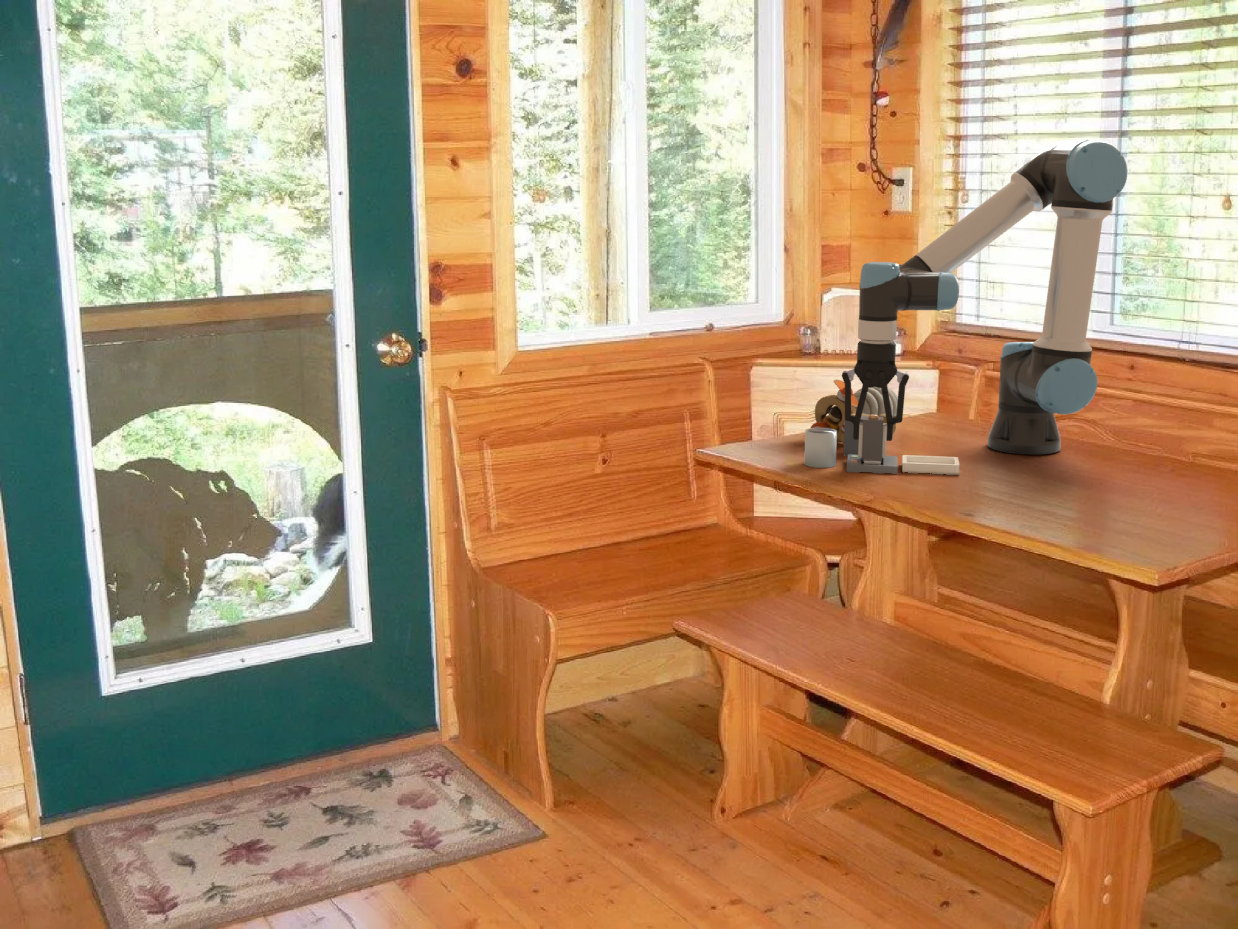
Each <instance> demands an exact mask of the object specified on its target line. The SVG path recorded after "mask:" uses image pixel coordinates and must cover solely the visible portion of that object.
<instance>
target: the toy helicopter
mask: <svg viewBox="0 0 1238 929" xmlns="http://www.w3.org/2000/svg"><path fill="white" fill-rule="evenodd" d="M833 383H834V384H835V385H836V387H837V388H838V391H837V393H836V394H829V395H827V396H823V397H821V398H820V399H819V400H818V401H817V402H816V403H815V407H814V418H815V422H814V423H813V424H812V425H810V428H830V429H834V430H836V431H837V442H841V443H842V444H844V429H845V383H844V381H843V380H841V379H834V380H833ZM853 394H854V392H853V388H851V414H855V413H856V408H855V407H857V405H858V401H857V399H856V398H855V396H854V395H853ZM862 416H869V415H868V414H864V413H862ZM878 417H884V424H887V420H886V414H882V415H879V416H878ZM896 428H897V423H896V424H894V425H893V434H895V432H896Z"/></svg>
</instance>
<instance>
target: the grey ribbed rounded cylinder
mask: <svg viewBox="0 0 1238 929" xmlns="http://www.w3.org/2000/svg"><path fill="white" fill-rule="evenodd" d="M861 390H862V387H861V388H860V389H858V390H857V391H855V392H853V395H854V396H855V398H856V399H857V401H859V397H860V394H861ZM888 393H889V399H890V405H891V411H892V417H895V416H896V414H897V402H898V394H897V393H895V391H894V390H892V389H891V388H889V387H888ZM855 408H856V409H857V407H855ZM862 413H864V414H868V415H878V416H879V415H882V414H885V408H884V402H883V396H882V390H881V388H877V387H872V388H868V392H867V396H866V400H865V404H864V408H863V412H862Z"/></svg>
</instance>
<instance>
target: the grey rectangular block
mask: <svg viewBox="0 0 1238 929" xmlns="http://www.w3.org/2000/svg"><path fill="white" fill-rule="evenodd" d="M863 464H870V465H882V464H881V460H877V459H864V463H863Z"/></svg>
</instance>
